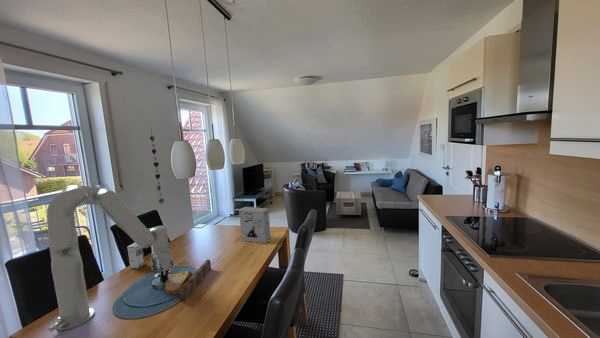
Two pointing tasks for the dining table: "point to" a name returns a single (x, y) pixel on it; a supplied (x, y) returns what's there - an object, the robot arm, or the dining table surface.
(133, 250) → the syrup box
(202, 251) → the dining table surface
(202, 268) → the walnut board
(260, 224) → the cereal box
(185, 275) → the bread slice
